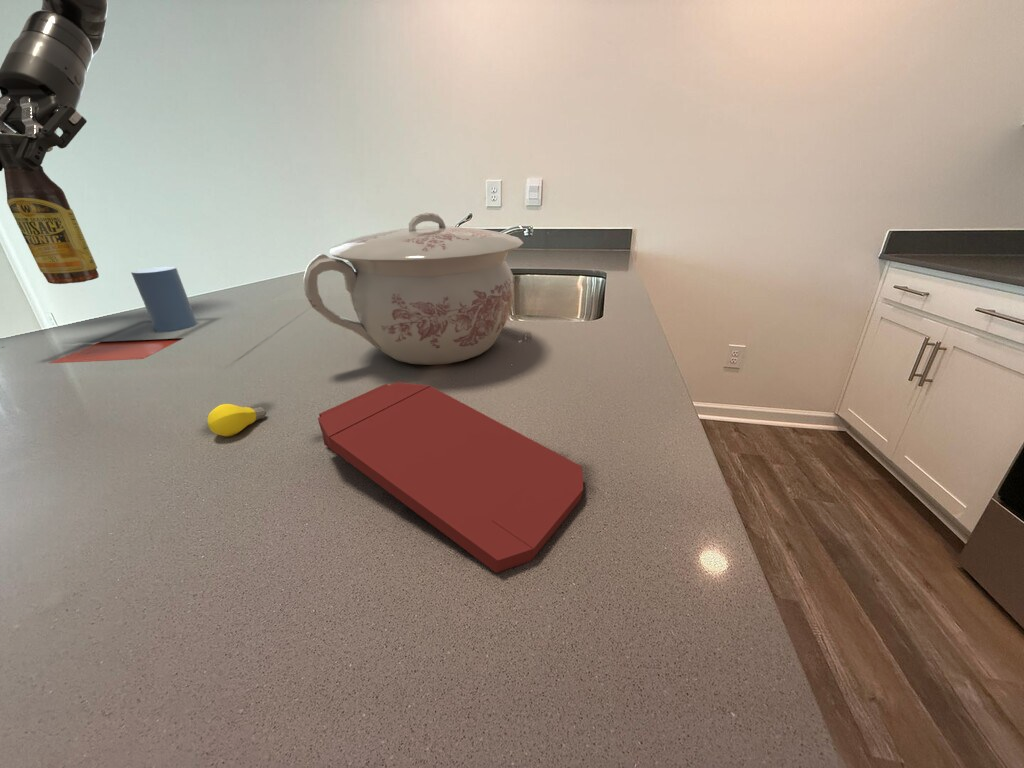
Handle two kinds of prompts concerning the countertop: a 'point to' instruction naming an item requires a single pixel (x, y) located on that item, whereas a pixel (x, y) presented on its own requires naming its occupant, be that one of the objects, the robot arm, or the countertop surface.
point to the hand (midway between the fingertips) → (7, 165)
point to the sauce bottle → (45, 219)
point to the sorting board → (118, 350)
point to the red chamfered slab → (457, 469)
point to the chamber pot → (423, 289)
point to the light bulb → (232, 418)
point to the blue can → (164, 298)
